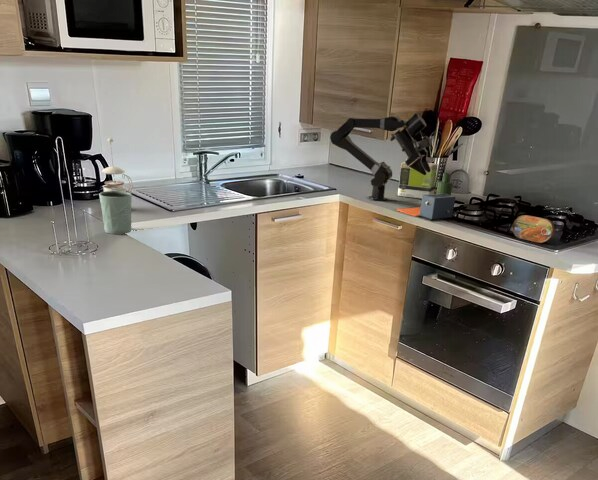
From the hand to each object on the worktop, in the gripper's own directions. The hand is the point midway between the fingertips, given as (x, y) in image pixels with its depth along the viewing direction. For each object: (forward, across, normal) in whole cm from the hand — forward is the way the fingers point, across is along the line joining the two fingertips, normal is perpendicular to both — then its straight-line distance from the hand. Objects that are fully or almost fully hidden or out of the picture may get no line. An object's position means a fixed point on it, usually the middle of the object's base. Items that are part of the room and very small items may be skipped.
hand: (427, 173), depth 259 cm
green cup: (-47, -108, +68) cm, 136 cm away
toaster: (+16, -22, +2) cm, 28 cm away
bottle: (+15, 0, +4) cm, 16 cm away
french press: (-60, -82, +82) cm, 130 cm away
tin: (+43, -39, -25) cm, 63 cm away
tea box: (+5, +17, +14) cm, 23 cm away
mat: (+10, -16, +8) cm, 21 cm away
